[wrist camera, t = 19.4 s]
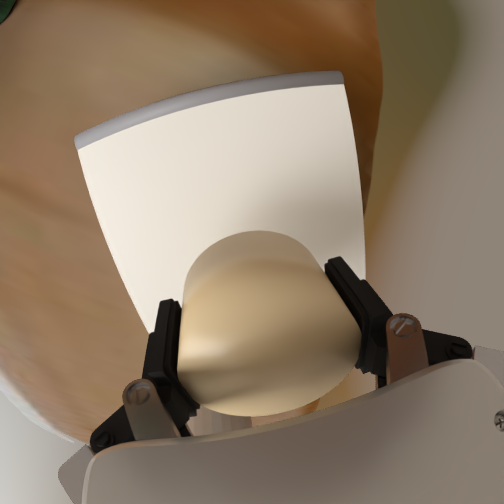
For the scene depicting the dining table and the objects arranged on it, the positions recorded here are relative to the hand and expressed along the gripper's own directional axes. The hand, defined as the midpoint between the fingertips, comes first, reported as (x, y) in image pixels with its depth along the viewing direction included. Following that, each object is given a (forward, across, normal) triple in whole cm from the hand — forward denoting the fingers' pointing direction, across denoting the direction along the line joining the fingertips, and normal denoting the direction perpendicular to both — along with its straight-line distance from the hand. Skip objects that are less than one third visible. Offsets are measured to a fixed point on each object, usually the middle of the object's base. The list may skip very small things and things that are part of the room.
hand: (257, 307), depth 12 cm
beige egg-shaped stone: (+1, 0, 0) cm, 1 cm away
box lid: (+6, 0, 0) cm, 6 cm away
